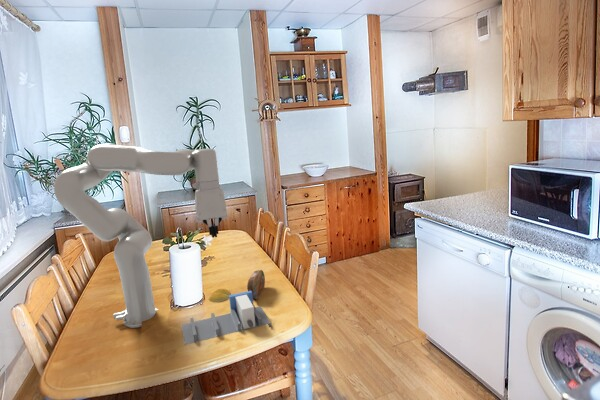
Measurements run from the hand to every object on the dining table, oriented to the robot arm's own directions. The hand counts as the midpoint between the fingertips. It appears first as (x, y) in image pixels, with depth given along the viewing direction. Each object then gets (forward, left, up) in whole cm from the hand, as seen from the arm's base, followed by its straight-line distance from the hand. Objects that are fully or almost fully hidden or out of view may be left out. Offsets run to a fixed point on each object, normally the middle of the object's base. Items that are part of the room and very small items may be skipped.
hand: (214, 236), depth 138 cm
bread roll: (0, +10, -30) cm, 31 cm away
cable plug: (+6, -15, -28) cm, 32 cm away
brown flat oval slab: (+15, +8, -29) cm, 34 cm away
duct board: (-1, -12, -29) cm, 31 cm away
